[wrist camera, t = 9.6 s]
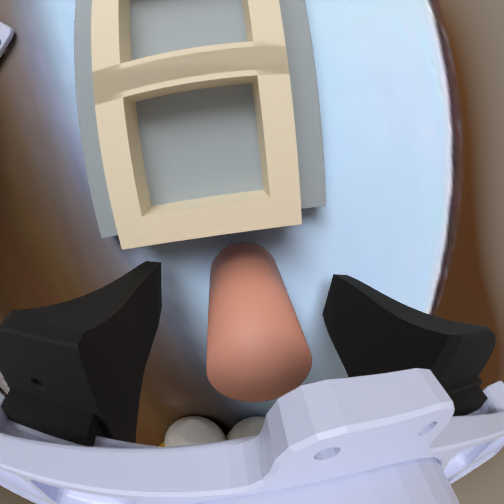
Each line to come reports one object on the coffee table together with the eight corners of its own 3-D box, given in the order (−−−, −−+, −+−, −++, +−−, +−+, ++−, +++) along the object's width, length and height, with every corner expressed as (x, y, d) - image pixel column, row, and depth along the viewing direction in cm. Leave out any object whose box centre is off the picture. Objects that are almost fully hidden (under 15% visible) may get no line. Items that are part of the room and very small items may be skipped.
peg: (247, 312, 14) (262, 412, 9) (197, 277, 13) (185, 376, 8) (290, 268, 13) (332, 359, 8) (240, 228, 12) (255, 310, 7)
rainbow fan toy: (152, 402, 16) (139, 500, 10) (298, 404, 18) (324, 496, 11) (166, 457, 20) (163, 529, 13) (278, 458, 21) (292, 527, 14)
